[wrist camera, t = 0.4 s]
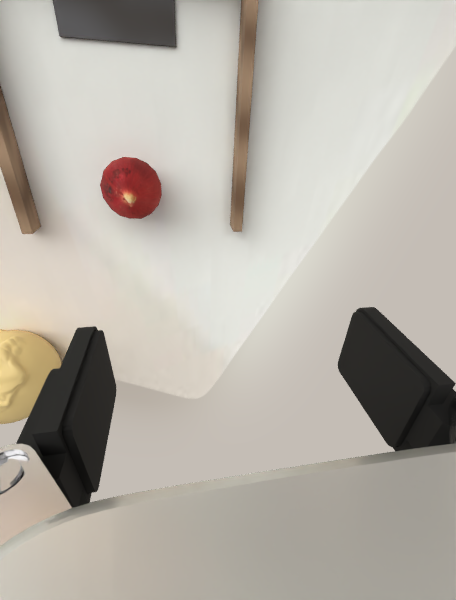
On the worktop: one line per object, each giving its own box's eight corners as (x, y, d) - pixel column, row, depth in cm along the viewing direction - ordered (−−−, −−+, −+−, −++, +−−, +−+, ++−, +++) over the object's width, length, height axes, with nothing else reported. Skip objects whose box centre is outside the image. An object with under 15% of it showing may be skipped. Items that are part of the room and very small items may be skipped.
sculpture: (25, 302, 39) (-19, 360, 30) (85, 360, 45) (64, 422, 36) (-48, 338, 40) (-112, 404, 31) (21, 390, 46) (-14, 457, 37)
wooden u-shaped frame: (-62, -80, 22) (-87, -100, 20) (254, -36, 26) (261, -49, 24) (31, 226, 34) (22, 233, 32) (237, 224, 38) (241, 231, 36)
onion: (102, 196, 34) (86, 217, 27) (114, 143, 31) (99, 152, 25) (153, 215, 36) (150, 238, 29) (168, 166, 33) (168, 180, 27)
